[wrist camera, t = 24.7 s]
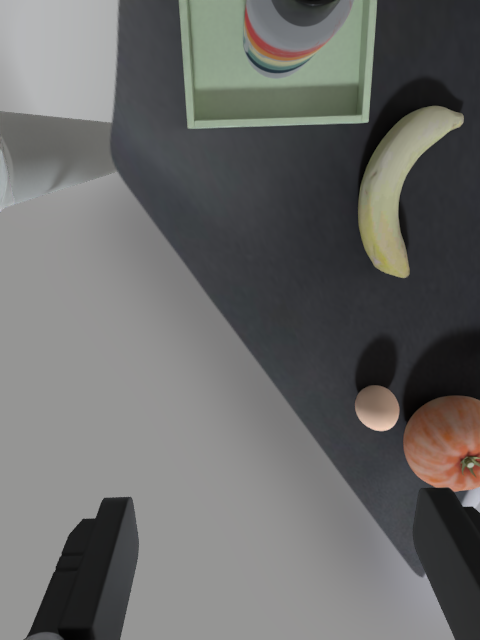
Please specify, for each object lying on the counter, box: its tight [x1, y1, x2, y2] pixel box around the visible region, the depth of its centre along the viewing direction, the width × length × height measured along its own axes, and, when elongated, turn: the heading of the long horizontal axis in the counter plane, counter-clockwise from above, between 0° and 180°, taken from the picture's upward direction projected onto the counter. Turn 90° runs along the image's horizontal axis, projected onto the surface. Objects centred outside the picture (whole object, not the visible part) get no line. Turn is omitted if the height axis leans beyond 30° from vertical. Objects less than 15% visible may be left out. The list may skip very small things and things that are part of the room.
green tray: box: [179, 0, 377, 129], centre depth 36 cm, size 15×13×2 cm
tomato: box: [403, 395, 480, 491], centre depth 49 cm, size 11×11×8 cm
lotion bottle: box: [243, 0, 354, 79], centre depth 28 cm, size 6×6×20 cm
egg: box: [355, 385, 399, 431], centre depth 48 cm, size 4×4×6 cm
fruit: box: [358, 106, 464, 278], centre depth 41 cm, size 7×15×3 cm, turn 167°
